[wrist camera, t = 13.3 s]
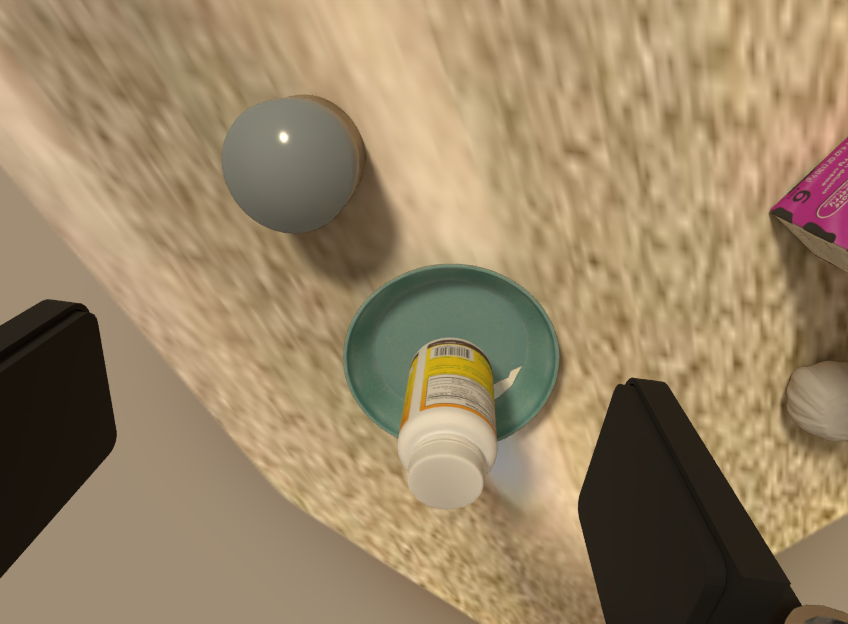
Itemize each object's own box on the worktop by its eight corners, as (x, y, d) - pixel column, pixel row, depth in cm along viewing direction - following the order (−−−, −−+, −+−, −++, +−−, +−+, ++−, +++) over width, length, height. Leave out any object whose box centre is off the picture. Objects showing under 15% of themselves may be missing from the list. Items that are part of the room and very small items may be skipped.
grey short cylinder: (371, 105, 32) (358, 112, 27) (359, 219, 35) (345, 242, 30) (254, 85, 32) (221, 89, 27) (252, 201, 35) (222, 222, 30)
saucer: (375, 440, 43) (371, 463, 40) (325, 270, 37) (317, 285, 34) (561, 416, 41) (568, 438, 39) (541, 233, 35) (548, 245, 33)
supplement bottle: (441, 412, 38) (432, 534, 29) (394, 358, 36) (368, 471, 27) (509, 377, 36) (520, 496, 27) (462, 318, 34) (458, 426, 25)
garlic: (869, 387, 38) (928, 433, 34) (797, 428, 40) (844, 477, 35) (829, 332, 37) (885, 372, 32) (756, 377, 38) (799, 422, 34)
